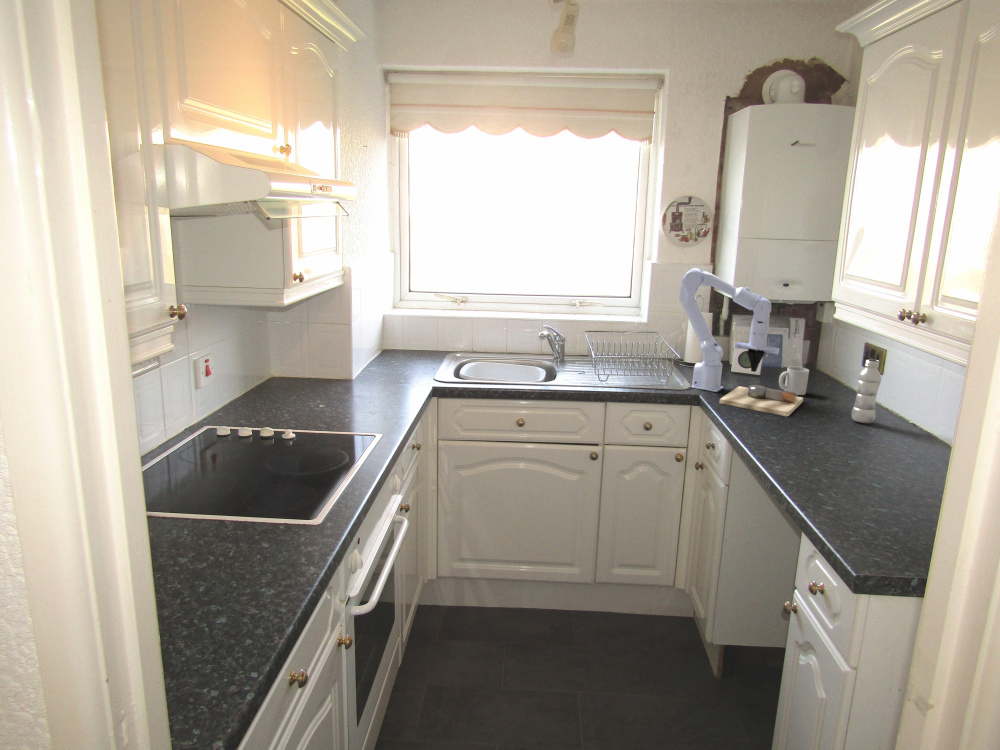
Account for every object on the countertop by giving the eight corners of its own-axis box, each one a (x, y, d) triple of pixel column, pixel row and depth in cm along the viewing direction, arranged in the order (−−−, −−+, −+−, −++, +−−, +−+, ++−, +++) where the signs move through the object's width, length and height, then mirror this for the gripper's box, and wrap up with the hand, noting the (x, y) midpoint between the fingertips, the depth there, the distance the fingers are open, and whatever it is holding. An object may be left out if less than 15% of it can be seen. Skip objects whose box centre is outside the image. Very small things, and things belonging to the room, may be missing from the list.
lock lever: (745, 396, 234) (747, 387, 233) (749, 392, 239) (751, 384, 238) (792, 404, 226) (793, 395, 225) (795, 400, 231) (797, 391, 230)
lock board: (719, 403, 230) (719, 398, 230) (738, 390, 248) (738, 386, 248) (787, 416, 218) (788, 412, 218) (802, 401, 236) (803, 397, 236)
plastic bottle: (876, 426, 212) (888, 363, 207) (853, 424, 213) (864, 361, 208) (870, 420, 218) (881, 359, 213) (847, 418, 219) (857, 357, 214)
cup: (809, 396, 244) (812, 371, 242) (781, 395, 244) (784, 370, 242) (800, 390, 251) (803, 367, 249) (773, 389, 251) (776, 366, 249)
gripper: (734, 331, 239) (729, 369, 242) (777, 337, 231) (772, 376, 234) (740, 329, 245) (735, 366, 248) (782, 334, 237) (777, 372, 240)
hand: (753, 371), depth 242 cm, fingers closed
